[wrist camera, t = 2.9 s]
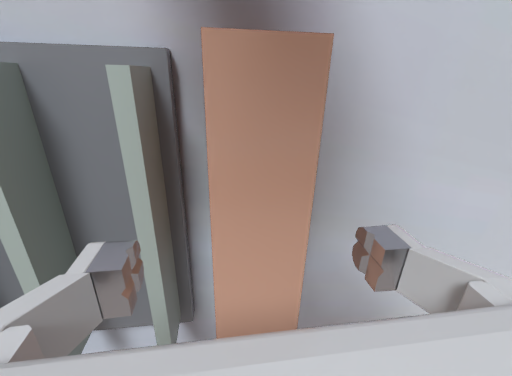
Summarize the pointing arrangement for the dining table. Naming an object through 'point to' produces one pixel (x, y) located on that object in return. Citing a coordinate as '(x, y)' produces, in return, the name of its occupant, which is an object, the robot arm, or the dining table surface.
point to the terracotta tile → (262, 169)
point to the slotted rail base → (92, 172)
